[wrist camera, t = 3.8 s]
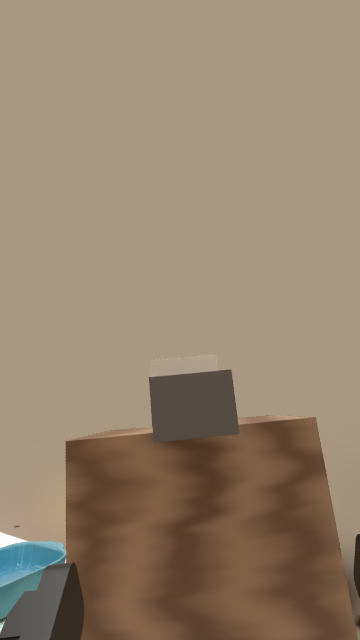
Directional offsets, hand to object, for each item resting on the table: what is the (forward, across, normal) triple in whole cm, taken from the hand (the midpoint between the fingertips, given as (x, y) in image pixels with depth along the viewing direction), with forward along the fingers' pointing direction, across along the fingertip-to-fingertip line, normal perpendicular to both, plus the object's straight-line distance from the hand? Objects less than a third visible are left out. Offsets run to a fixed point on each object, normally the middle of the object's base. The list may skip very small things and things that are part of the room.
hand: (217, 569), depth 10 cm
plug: (+15, 0, +5) cm, 15 cm away
